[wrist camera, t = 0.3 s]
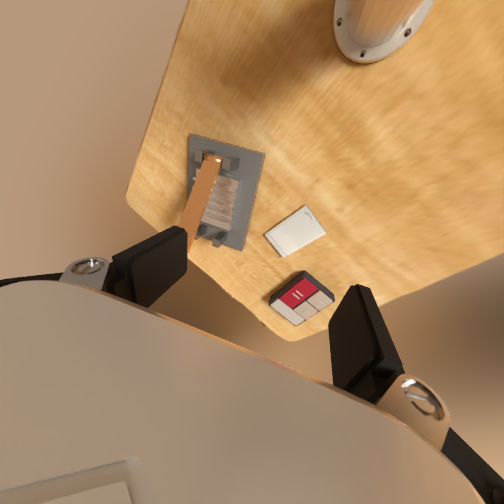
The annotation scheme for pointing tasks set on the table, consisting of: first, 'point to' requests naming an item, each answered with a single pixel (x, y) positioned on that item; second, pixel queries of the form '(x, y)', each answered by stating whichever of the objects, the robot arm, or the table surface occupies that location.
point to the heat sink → (220, 198)
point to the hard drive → (295, 231)
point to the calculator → (301, 298)
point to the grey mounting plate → (247, 172)
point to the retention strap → (200, 196)
